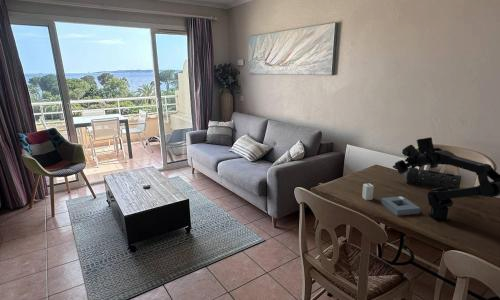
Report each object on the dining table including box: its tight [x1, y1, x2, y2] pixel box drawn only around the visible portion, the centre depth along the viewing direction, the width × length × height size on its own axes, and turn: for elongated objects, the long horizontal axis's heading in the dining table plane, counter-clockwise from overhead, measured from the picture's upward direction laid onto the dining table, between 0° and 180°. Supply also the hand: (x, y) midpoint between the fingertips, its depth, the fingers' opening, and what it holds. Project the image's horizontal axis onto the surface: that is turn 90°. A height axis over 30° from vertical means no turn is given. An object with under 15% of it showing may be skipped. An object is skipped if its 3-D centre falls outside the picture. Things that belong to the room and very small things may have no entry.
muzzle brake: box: [403, 166, 462, 190], centre depth 168 cm, size 10×28×10 cm, turn 50°
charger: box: [361, 183, 375, 201], centre depth 156 cm, size 4×4×8 cm
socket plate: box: [380, 195, 421, 217], centre depth 145 cm, size 14×12×3 cm
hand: (399, 163), depth 154 cm, fingers open, 9 cm apart
